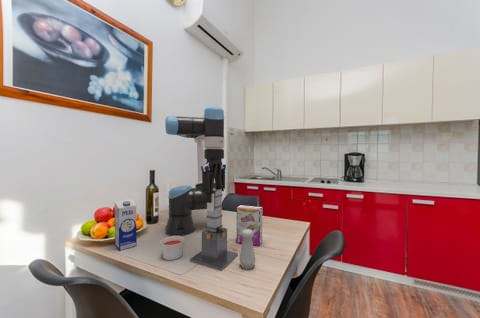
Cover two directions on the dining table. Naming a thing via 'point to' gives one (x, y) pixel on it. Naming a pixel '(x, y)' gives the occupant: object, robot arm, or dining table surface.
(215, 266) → the stand base
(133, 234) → the milk carton
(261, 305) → the dining table surface
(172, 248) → the candle
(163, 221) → the dining table surface
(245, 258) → the salt shaker
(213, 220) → the column
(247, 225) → the candy bar box
